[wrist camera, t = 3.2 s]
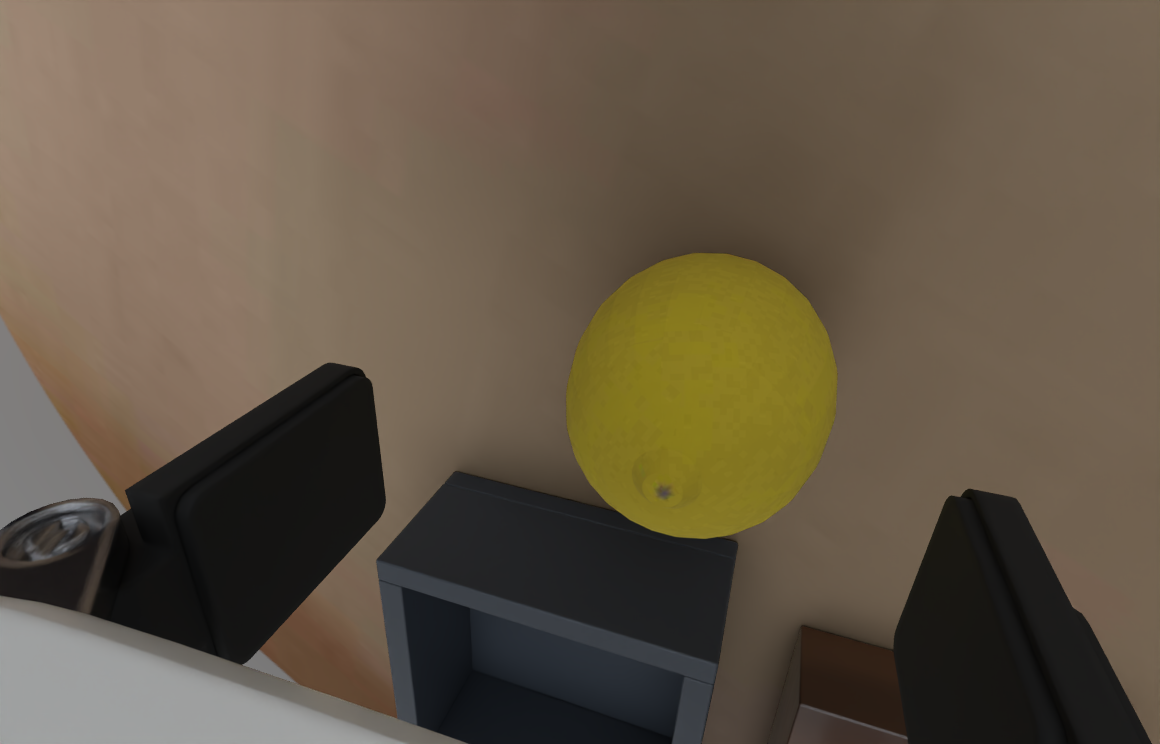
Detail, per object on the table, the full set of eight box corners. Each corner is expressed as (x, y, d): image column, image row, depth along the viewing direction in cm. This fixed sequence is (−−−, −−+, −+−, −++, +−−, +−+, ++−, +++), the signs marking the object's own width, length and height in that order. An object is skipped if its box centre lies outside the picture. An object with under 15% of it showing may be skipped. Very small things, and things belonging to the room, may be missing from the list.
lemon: (740, 445, 18) (696, 668, 12) (589, 333, 19) (457, 490, 12) (882, 306, 16) (935, 495, 9) (703, 174, 16) (616, 259, 9)
